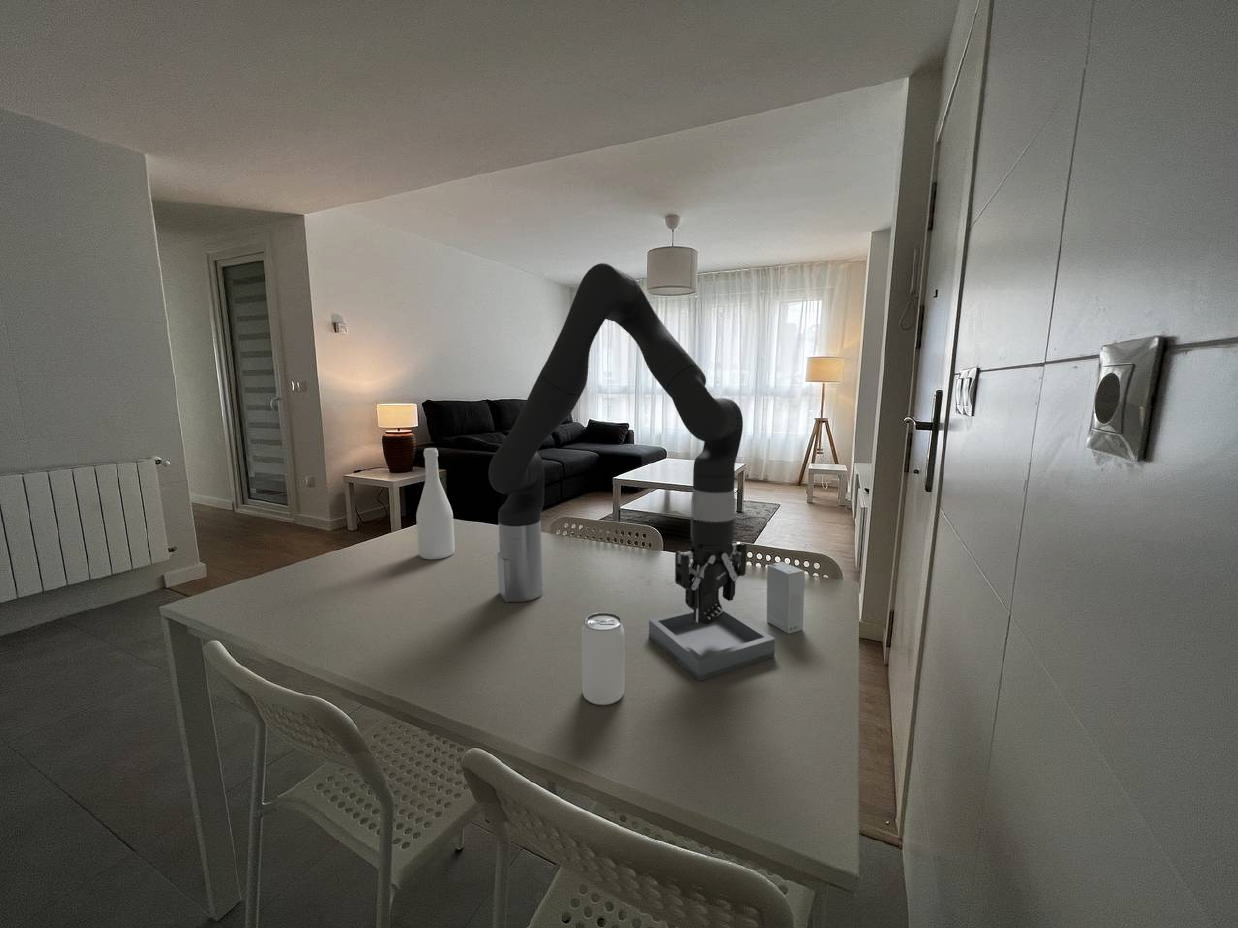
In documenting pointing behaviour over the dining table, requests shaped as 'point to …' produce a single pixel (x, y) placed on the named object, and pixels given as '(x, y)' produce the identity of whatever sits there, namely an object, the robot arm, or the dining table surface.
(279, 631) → the dining table surface
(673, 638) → the tray
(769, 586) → the skincare box
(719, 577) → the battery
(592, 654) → the can
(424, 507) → the wine bottle
